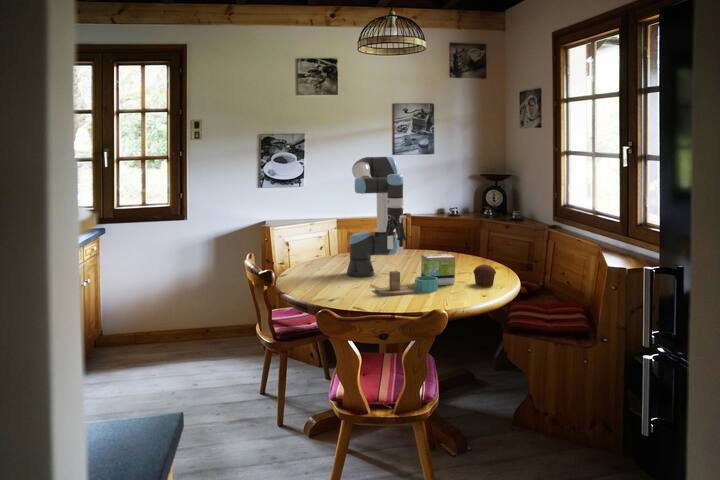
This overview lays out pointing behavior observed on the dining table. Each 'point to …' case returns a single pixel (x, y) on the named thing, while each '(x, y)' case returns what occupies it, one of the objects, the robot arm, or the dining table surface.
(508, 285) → the dining table surface
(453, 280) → the tea box
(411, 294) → the charcoal mat
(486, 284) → the muffin
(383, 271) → the dining table surface
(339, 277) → the dining table surface
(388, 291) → the walnut lid
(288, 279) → the dining table surface
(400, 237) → the robot arm
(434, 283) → the teal bowl
